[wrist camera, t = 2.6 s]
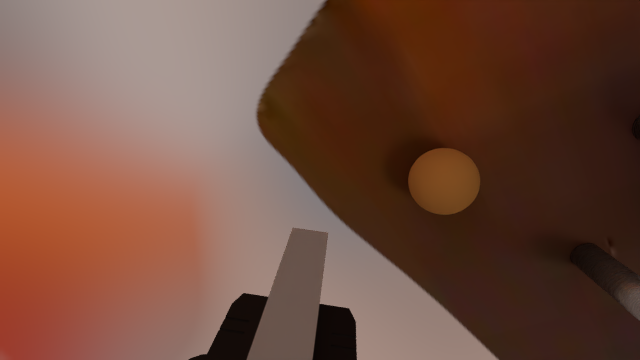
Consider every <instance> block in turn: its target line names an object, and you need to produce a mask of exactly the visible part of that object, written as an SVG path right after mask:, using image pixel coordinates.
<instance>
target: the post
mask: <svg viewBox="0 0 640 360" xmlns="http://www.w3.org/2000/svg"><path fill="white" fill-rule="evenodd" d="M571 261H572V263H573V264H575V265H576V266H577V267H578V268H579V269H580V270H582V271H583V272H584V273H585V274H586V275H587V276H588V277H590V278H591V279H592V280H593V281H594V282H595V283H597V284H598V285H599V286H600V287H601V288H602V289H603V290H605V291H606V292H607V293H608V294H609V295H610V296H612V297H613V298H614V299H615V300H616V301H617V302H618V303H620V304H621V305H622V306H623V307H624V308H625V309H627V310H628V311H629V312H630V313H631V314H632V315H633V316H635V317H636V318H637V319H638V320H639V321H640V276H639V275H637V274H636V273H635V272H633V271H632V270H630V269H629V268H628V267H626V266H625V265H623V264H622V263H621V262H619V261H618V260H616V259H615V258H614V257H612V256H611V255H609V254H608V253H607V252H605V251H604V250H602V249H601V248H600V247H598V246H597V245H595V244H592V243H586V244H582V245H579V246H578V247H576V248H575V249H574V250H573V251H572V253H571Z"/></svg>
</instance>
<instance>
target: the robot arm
mask: <svg viewBox="0 0 640 360" xmlns="http://www.w3.org/2000/svg"><path fill="white" fill-rule="evenodd" d="M327 238H328V233H326V232H318V231H312V230H305V229H298V228H293V229H292V232H291V234H290V237H289V240H288V243H287V246H286V249H285V252H284V254H283V257H282V260H281V263H280V266H279V269H278V271H277V275H276V277H275V280H274V283H273V286H272V289H271V291H270V295H269V297H264V296H259V295H253V294H246V293H243V294H242V295H241V296H240V297H239V298H238V299H237V300H235V301H234V303H232V305H231V307H230V309H229V311H228V313H227V315H226V318H225V319H224V321H223V323H222V325H221V327H220V330H219V331H218V333H217V335H216V337H215V339H214V341H213V343H212V345H211V347H210V349H209V351H208V353H207V354H203V355H199V356H196V357H193V358H190V359H189V360H357V356H356V355H357V353H356V322H355V319H354V317H353V315H352V313H351V311H350V310H349V308H343V307H336V306H330V305H324V304H319V302H320V295H321V287H322V279H323V271H324V262H325V254H326V245H327Z"/></svg>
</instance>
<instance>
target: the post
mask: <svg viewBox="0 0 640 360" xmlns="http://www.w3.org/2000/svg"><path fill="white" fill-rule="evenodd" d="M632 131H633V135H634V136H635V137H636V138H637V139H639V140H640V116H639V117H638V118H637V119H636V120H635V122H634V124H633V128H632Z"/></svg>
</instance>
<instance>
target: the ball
mask: <svg viewBox="0 0 640 360" xmlns="http://www.w3.org/2000/svg"><path fill="white" fill-rule="evenodd" d="M408 185H409V190H410V193H411V195H412V197H413V199H414V200H415V201H416V202H417V204H418V205H420V206H421V207H422V208H424V209H425V210H427V211H429V212H432V213H435V214H442V215H447V214H454V213H457V212H460V211H462V210H464V209H465V208H467V207H468V206H469V205H470V204H471V203H472V202H473V201H474V199H475V198H476V196H477V194H478V192H479V188H480V175H479V171H478V169H477V167H476V165H475V163H474V162H473V161H472V160H471V159H470V158H469V157H468V156H467V155H466V154H464V153H462V152H460V151H458V150H455V149H451V148H438V149H434V150H430V151H428V152H426V153H424V154H423V155H421V156H420V157H419V158H418V159H417V160H416V161H415V162H414V164H413V166H412V167H411V170H410V172H409V177H408Z"/></svg>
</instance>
